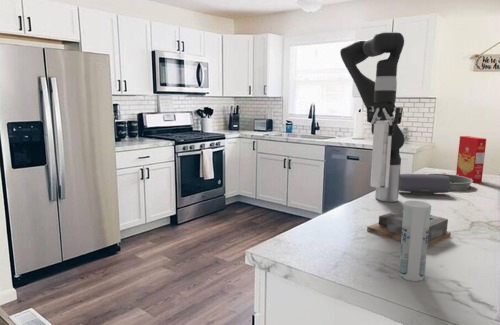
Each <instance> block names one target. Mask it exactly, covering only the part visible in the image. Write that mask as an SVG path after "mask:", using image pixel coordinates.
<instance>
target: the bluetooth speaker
mask: <svg viewBox="0 0 500 325" xmlns="http://www.w3.org/2000/svg"><path fill="white" fill-rule="evenodd" d="M430 174H431V173H400V181H399V192H408V193H410V194H411V195H423V194H425V196H426V195H427V196H428V195H429V196H433V195H434V194H444V193H445V194H446V193H449V192H450V191H451V190H450V183H451V182H450V178H449V177H448V176H443V175H430Z"/></svg>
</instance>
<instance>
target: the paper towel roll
mask: <svg viewBox="0 0 500 325" xmlns="http://www.w3.org/2000/svg"><path fill="white" fill-rule="evenodd" d="M389 126H390V125H389V122H388V121H376V123H374V133H373V134H372V136H373V138H372V150H371V151H372V154H371V155H372V156H371V171H370V172H371V174H370V187H372V188H375V189H376V188H387V187H388V185H389V169H390V154H391V139H392V136H388V131H389Z"/></svg>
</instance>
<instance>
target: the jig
mask: <svg viewBox="0 0 500 325" xmlns="http://www.w3.org/2000/svg"><path fill="white" fill-rule="evenodd" d="M402 222H403V211H401V212H398V213H393V212H388V213H386V214H382V215H378V222H377V223H374V224H373V223H372V224H370V225H368V226H367V227H366V231H367V232H371V233H373V234H377V235H380V236H383V237H384V238H385V237H386V238H388V239H391V240H395V241H398V242H401V237H402ZM448 223H449V219H448V218H445V217H441V216H436V215H433V214H430V223H429V233H428V243H427V248H429V247H432V246H433V245H435V244H438V243H439V242H441V241H444V240H447V239H448V238H450V237H451V236H452V235H451V234H452V233H451V232H450V231H448Z"/></svg>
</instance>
